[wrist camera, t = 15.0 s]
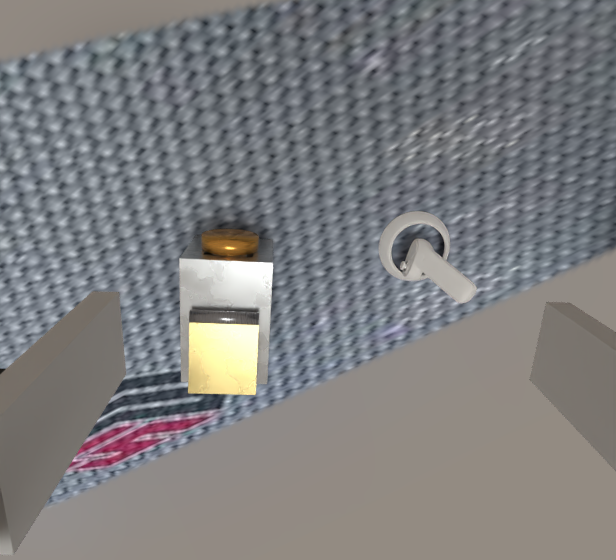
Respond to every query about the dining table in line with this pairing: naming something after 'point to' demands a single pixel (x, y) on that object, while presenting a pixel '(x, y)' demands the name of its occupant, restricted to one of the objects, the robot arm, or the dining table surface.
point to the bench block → (227, 292)
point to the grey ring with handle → (425, 257)
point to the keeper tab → (223, 352)
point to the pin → (230, 242)
